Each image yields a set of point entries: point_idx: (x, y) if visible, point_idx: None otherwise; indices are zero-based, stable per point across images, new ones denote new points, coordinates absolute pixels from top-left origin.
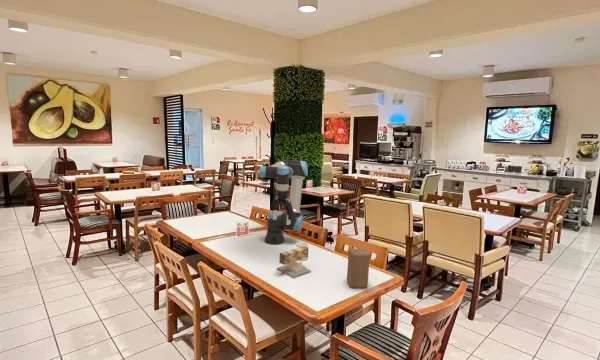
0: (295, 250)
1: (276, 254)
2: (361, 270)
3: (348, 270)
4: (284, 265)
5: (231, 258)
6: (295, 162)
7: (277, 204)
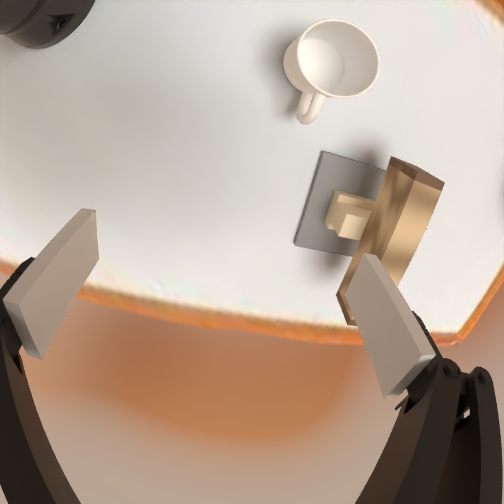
0: (400, 256)
1: (174, 106)
2: None
3: None
4: (308, 207)
5: (91, 274)
6: None
7: (74, 499)
